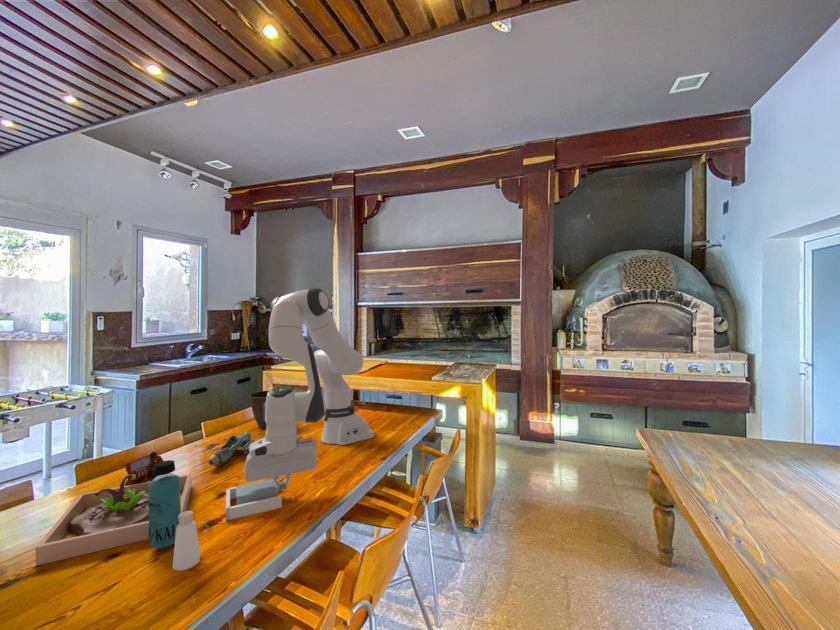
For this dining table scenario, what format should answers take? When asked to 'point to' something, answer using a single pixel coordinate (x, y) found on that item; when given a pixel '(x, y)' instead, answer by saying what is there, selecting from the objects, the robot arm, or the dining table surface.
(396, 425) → the dining table surface
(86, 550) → the planter tray
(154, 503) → the beverage bottle
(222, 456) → the hoverbike
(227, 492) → the bay
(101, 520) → the plant
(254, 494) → the short grey brick
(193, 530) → the pepper shaker
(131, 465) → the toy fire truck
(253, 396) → the plant pot
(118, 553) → the dining table surface
